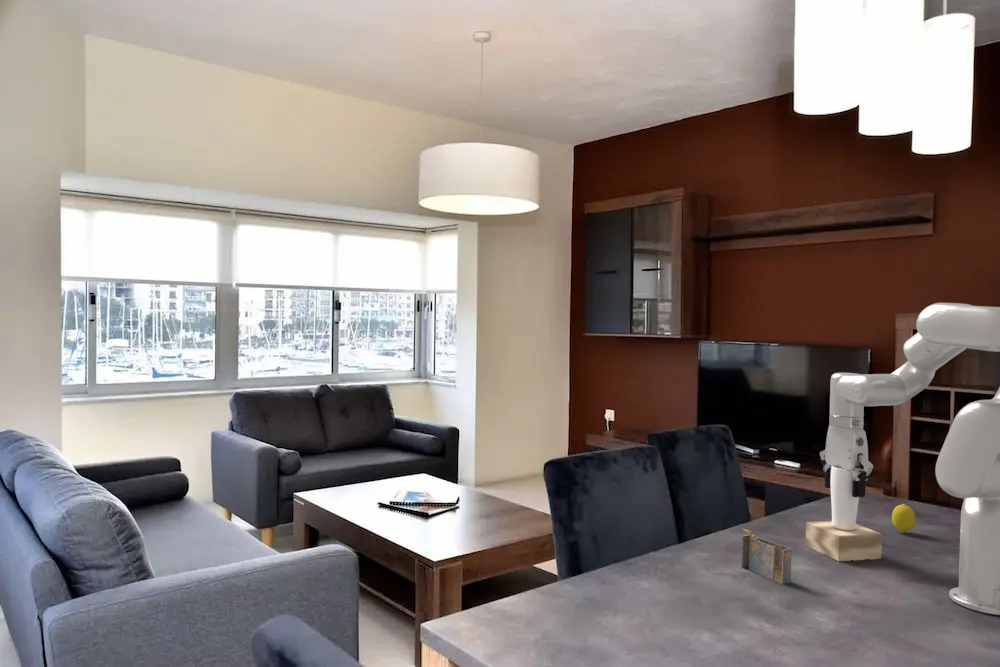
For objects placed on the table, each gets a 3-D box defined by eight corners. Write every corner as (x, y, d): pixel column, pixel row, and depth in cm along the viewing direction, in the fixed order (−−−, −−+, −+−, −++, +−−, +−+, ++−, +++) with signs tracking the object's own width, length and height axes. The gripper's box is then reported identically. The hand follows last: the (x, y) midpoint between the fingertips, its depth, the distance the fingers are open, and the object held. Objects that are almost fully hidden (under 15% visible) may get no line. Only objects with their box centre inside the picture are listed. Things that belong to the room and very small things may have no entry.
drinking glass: (862, 533, 169) (865, 470, 169) (832, 530, 170) (835, 468, 170) (853, 525, 176) (856, 465, 176) (825, 523, 177) (827, 463, 177)
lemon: (886, 531, 193) (887, 502, 193) (900, 529, 195) (901, 500, 195) (905, 536, 188) (906, 507, 188) (919, 534, 190) (920, 505, 190)
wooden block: (881, 558, 169) (882, 533, 169) (838, 561, 166) (839, 536, 166) (846, 543, 180) (846, 520, 180) (805, 545, 178) (805, 522, 178)
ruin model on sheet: (739, 569, 160) (740, 527, 160) (749, 567, 161) (750, 525, 161) (781, 586, 150) (782, 541, 150) (790, 584, 152) (791, 539, 151)
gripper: (885, 427, 165) (883, 500, 165) (835, 418, 182) (833, 484, 182) (858, 428, 164) (856, 501, 164) (809, 418, 181) (808, 484, 181)
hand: (844, 492), depth 173 cm, fingers open, 9 cm apart
